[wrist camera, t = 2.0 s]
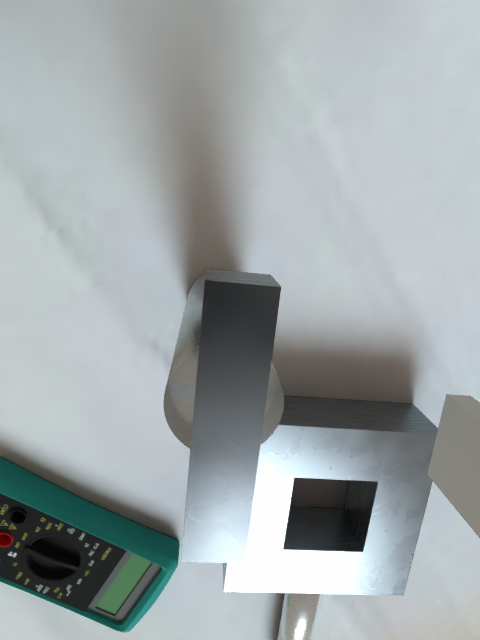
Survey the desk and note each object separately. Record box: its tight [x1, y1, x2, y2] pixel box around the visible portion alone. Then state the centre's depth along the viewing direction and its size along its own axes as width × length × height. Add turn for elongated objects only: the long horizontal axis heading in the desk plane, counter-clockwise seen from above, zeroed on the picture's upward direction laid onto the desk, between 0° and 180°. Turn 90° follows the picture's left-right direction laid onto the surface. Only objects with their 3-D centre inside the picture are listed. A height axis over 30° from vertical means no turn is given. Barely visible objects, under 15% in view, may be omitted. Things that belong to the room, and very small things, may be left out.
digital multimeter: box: [0, 457, 180, 632], centre depth 29 cm, size 7×15×3 cm, turn 57°
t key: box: [164, 269, 284, 563], centre depth 19 cm, size 8×4×16 cm, turn 174°
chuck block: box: [223, 396, 438, 640], centre depth 29 cm, size 22×12×4 cm, turn 174°
